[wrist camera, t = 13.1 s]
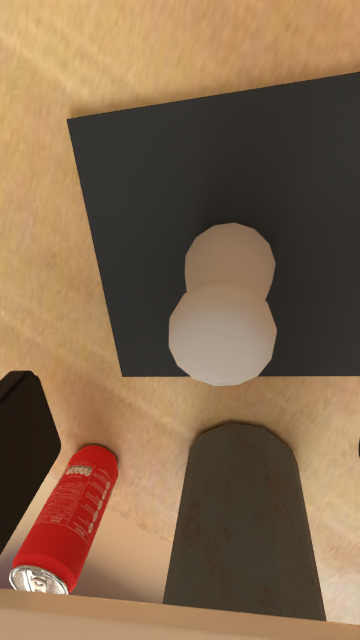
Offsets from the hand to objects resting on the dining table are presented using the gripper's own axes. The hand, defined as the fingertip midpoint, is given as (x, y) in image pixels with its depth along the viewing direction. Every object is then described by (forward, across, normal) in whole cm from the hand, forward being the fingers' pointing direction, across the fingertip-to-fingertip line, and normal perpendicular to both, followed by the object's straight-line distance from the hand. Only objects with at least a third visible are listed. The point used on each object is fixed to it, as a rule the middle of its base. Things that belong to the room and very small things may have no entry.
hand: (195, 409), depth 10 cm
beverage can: (+17, +14, +21) cm, 31 cm away
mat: (+17, -1, 0) cm, 17 cm away
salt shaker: (+16, -1, 0) cm, 17 cm away
